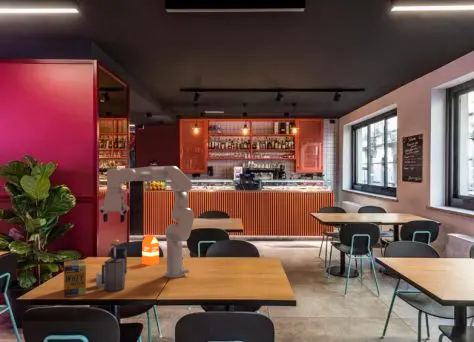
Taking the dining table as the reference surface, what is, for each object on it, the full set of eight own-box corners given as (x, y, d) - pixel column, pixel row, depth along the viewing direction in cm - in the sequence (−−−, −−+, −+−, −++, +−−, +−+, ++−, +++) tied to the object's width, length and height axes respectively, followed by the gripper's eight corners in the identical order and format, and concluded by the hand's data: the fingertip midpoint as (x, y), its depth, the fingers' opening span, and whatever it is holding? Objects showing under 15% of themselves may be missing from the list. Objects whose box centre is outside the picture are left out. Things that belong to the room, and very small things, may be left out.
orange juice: (150, 261, 283) (150, 233, 283) (159, 263, 278) (159, 234, 278) (141, 263, 277) (142, 235, 277) (150, 265, 272) (150, 236, 272)
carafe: (126, 286, 219) (127, 258, 220) (120, 291, 209) (120, 262, 210) (105, 286, 220) (105, 258, 220) (98, 291, 210) (98, 262, 210)
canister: (122, 276, 240) (122, 247, 241) (107, 276, 242) (108, 246, 243) (129, 273, 250) (129, 244, 250) (115, 272, 252) (115, 244, 252)
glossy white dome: (111, 284, 224) (111, 271, 225) (106, 287, 217) (106, 274, 218) (99, 284, 225) (99, 271, 225) (94, 287, 218) (94, 274, 218)
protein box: (63, 297, 200) (63, 266, 200) (63, 289, 214) (64, 260, 214) (85, 295, 204) (86, 265, 204) (84, 287, 218) (84, 259, 218)
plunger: (123, 263, 218) (123, 239, 218) (119, 266, 211) (119, 241, 211) (110, 263, 219) (110, 239, 219) (105, 266, 211) (105, 241, 212)
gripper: (131, 190, 221) (131, 221, 220) (102, 190, 223) (102, 220, 223) (126, 191, 213) (125, 223, 213) (96, 191, 216) (95, 222, 215)
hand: (113, 221), depth 218 cm, fingers open, 9 cm apart
